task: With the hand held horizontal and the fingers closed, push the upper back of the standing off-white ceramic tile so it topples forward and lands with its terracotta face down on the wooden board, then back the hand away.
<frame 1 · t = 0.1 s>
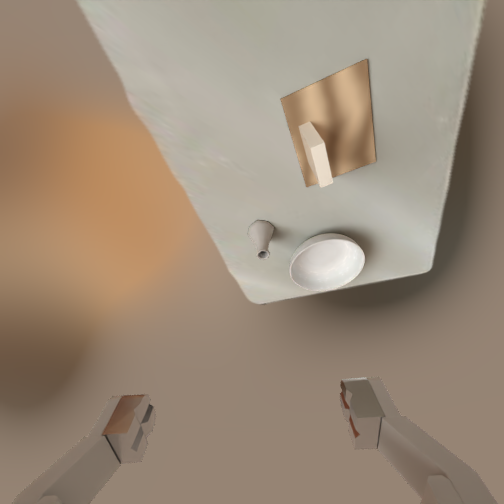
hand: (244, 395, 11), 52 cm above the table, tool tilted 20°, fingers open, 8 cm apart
flask: (260, 229, 70), on the table
wooden board: (331, 132, 53), on the table
serving bowl: (321, 251, 77), on the table
tile: (308, 142, 54), resting on wooden board
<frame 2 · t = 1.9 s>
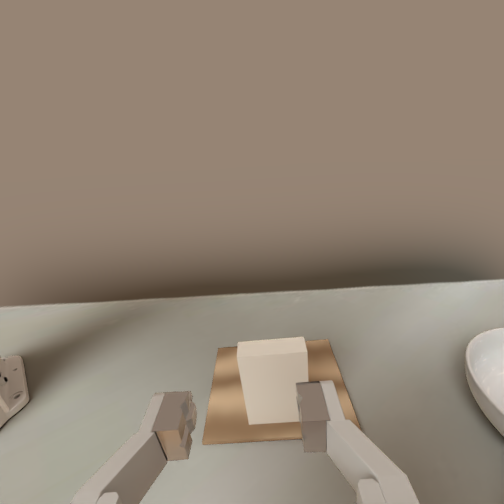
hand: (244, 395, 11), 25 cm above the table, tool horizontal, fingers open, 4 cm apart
wooden board: (276, 384, 39), on the table
tile: (278, 413, 35), resting on wooden board
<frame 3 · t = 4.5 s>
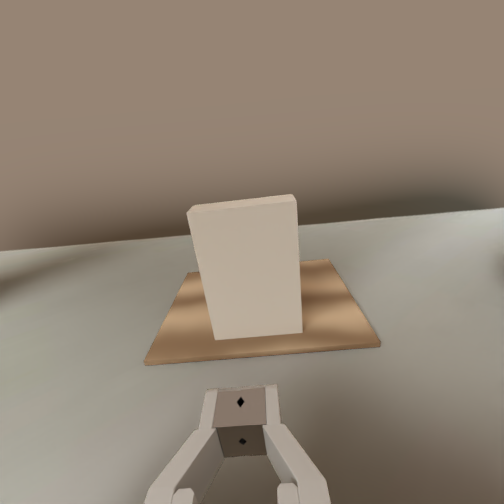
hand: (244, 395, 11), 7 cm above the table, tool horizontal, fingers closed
wooden board: (258, 301, 29), on the table
tile: (258, 327, 24), resting on wooden board
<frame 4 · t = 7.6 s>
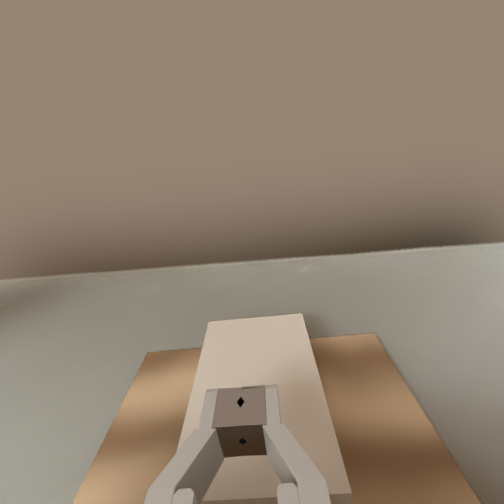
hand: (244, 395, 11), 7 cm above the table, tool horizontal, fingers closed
wooden board: (261, 446, 15), on the table
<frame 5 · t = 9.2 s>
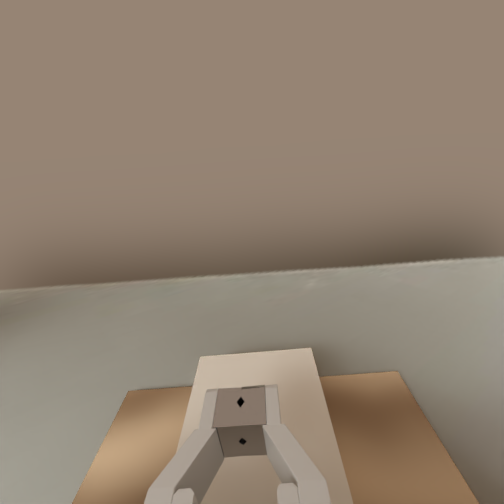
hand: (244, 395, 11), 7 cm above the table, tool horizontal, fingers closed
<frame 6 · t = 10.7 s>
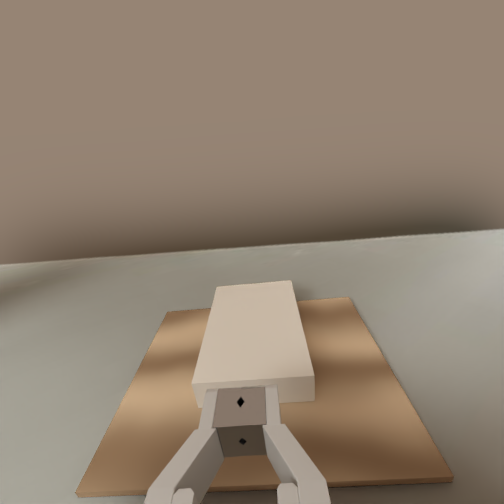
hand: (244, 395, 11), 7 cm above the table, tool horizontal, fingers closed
wooden board: (256, 367, 21), on the table
tile: (254, 392, 17), point 2 cm above the table, tilted 90°, touching wooden board
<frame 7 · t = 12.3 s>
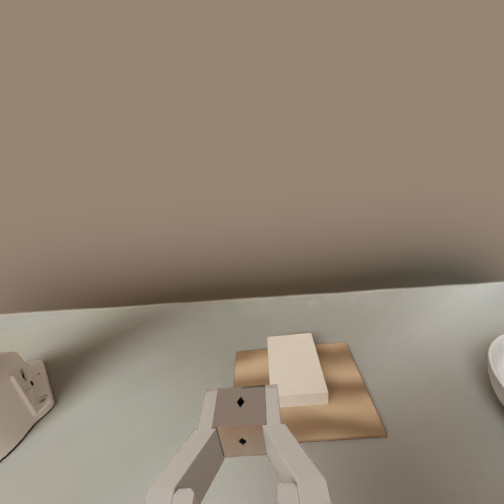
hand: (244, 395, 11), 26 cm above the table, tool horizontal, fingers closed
wooden board: (296, 386, 40), on the table
tile: (299, 400, 36), point 2 cm above the table, tilted 90°, touching wooden board
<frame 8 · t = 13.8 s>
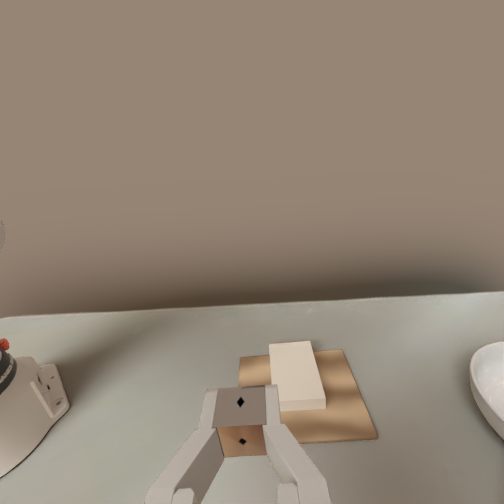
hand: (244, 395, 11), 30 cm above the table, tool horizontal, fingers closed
wooden board: (296, 392, 43), on the table
tile: (299, 405, 39), point 2 cm above the table, tilted 90°, touching wooden board
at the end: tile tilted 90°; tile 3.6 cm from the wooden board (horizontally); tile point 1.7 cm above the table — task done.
